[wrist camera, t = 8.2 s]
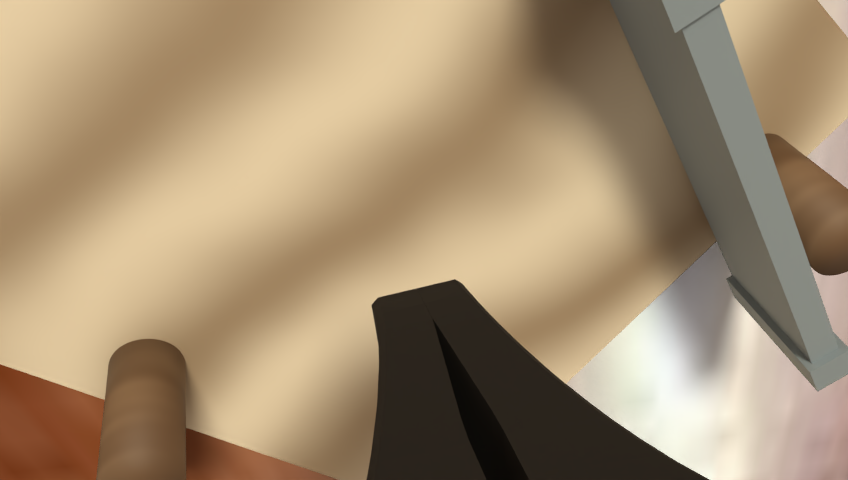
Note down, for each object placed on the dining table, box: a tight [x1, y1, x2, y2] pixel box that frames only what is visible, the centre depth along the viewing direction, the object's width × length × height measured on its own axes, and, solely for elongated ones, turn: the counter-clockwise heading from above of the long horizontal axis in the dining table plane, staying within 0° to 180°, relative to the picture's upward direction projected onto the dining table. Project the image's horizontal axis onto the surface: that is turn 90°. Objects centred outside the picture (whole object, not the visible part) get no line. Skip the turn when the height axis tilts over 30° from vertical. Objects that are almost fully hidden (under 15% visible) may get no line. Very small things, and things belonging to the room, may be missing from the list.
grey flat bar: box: [609, 0, 848, 391], centre depth 20 cm, size 14×1×4 cm, turn 31°
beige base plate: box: [0, 0, 848, 480], centre depth 19 cm, size 20×20×6 cm
